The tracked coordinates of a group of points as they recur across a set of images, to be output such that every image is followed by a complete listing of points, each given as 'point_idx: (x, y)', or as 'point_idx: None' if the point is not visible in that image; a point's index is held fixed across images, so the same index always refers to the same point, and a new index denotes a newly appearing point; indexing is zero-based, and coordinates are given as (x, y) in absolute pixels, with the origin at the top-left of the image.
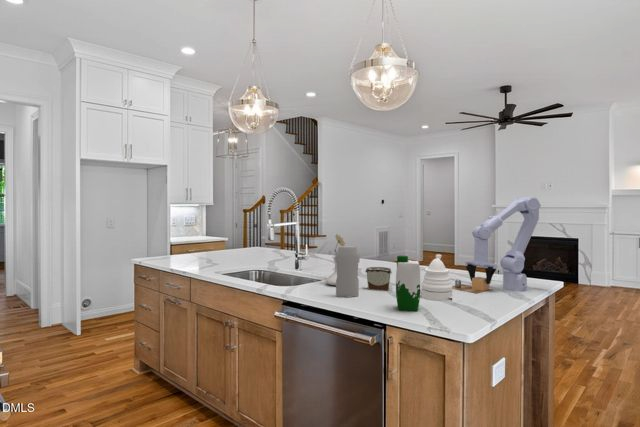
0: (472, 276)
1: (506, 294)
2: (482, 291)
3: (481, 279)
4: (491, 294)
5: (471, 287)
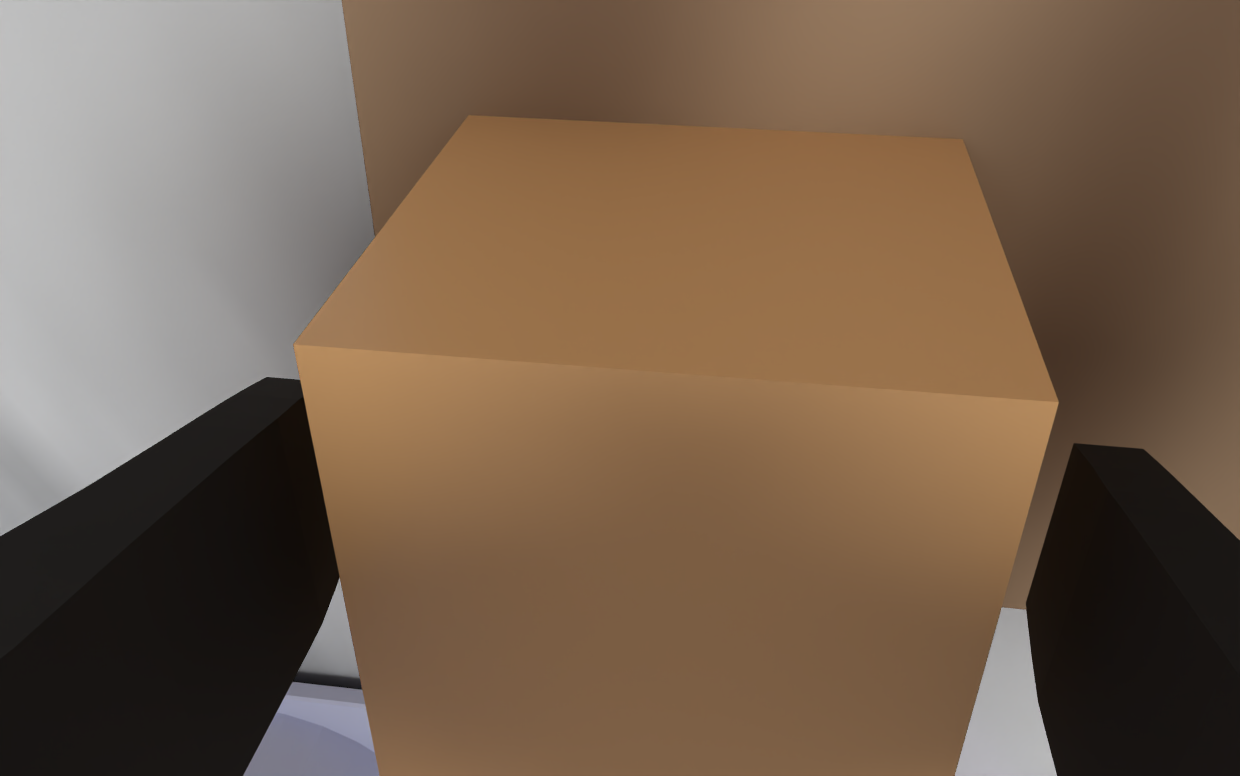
0: (1141, 658)
1: None
2: (425, 19)
3: (417, 384)
4: (284, 205)
5: (1083, 373)
